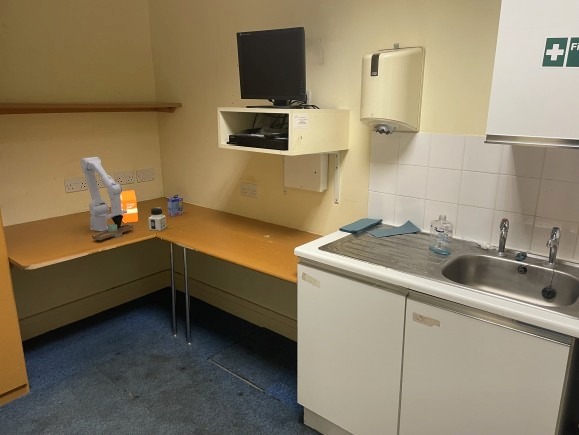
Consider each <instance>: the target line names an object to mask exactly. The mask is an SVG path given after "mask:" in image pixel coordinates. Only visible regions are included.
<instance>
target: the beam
mask: <svg viewBox="0 0 579 435" xmlns="http://www.w3.org/2000/svg"><path fill="white" fill-rule="evenodd" d="M133 229H135V228H134V225H133V224H127V223H124V224H121V227H120V228H117V230H115V231H113V232H108V229H107V230H104V231H100V232H99V233H95V234H92V235H91V239H92V240H96V241H97V240H98V241H102V240H105V239H108V238H114V239H117V238H119V237H122V236H123V233H125V232H128V231H131V230H133Z"/></svg>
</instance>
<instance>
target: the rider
mask: <svg viewBox="0 0 579 435" xmlns="http://www.w3.org/2000/svg"><path fill="white" fill-rule="evenodd" d="M107 226H108V229H107V230H108V232H113V231H115V230H117V224H115V223H112V224H107Z"/></svg>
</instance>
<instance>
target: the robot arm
mask: <svg viewBox="0 0 579 435" xmlns="http://www.w3.org/2000/svg"><path fill="white" fill-rule="evenodd" d="M80 167H81V170H82V173H84V176H85V180H86V184H87V187H88V190H89V194H90V197H91V201H90V203H89V204H88V206H89V213H90V219H89V222H90V223H89V224H90V228H89V230H90V231H95V232H104V231H107V230H108V220H110V219H111V220H112V221H113V224H117V228H120V227H121V226H122V222H123V221H122V219H123V215H122V214H125V213H127V210H122V207H121V196H120V194H121V193H122V191H123V187H122V185H121V184H119V183H118V182H116V181H115V180H114V178H113V177H112V176H111V175H110V174H108V173H107V172H106V171H105V169H104V168H103V166H102V161H101V159H100V157H98V156H93V157H83V158H81V160H80ZM95 173H97V175H98V176H99V177H100V178H101V182H102V183H103V185H104V187H105V188H106V192H107V194H108V198H109V199H110V208H109V205H108V204H107V203H108V202H107V200H105V199H104V198H102V196H101V192H100V188H99V185H98V182H97V179H96V175H95ZM110 209H111V210H110ZM109 211H111V212H110V213H109Z"/></svg>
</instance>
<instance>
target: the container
mask: <svg viewBox="0 0 579 435" xmlns="http://www.w3.org/2000/svg"><path fill="white" fill-rule="evenodd" d="M150 214H151V215H150V217H148V229H149V230H150V231H162V230H164V229H166V228H167V219H166V215H163V209H162V208H161V207H152V208H151V209H150Z"/></svg>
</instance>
